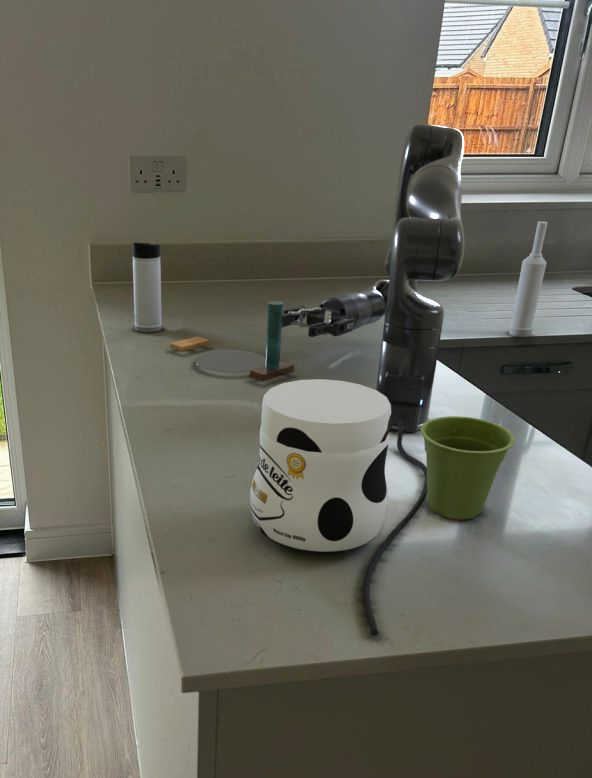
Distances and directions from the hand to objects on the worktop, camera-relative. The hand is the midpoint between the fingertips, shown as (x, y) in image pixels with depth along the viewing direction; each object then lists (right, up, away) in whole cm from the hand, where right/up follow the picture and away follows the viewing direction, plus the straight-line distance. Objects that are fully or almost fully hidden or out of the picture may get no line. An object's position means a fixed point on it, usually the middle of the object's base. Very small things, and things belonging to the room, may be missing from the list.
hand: (293, 327), depth 153 cm
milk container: (-3, -39, -51) cm, 64 cm away
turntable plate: (-12, -6, +9) cm, 16 cm away
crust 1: (-22, -2, +16) cm, 28 cm away
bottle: (+57, +6, +32) cm, 65 cm away
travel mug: (-31, +7, +32) cm, 45 cm away
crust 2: (-19, 0, +19) cm, 27 cm away
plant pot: (+17, -36, -45) cm, 60 cm away
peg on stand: (-4, -10, +1) cm, 11 cm away
